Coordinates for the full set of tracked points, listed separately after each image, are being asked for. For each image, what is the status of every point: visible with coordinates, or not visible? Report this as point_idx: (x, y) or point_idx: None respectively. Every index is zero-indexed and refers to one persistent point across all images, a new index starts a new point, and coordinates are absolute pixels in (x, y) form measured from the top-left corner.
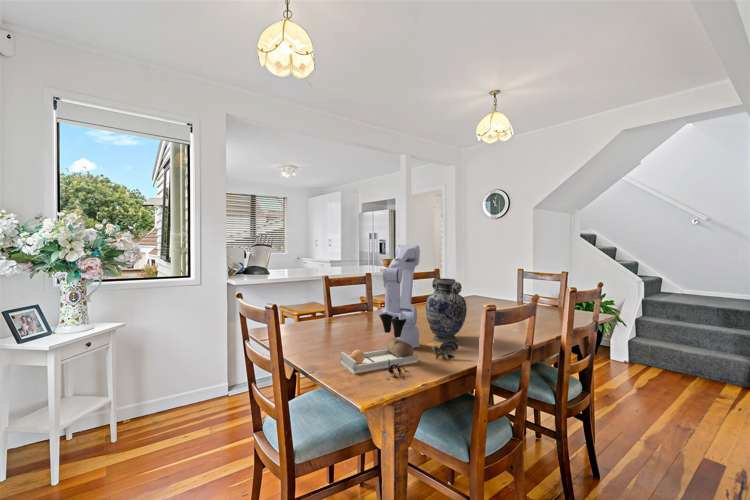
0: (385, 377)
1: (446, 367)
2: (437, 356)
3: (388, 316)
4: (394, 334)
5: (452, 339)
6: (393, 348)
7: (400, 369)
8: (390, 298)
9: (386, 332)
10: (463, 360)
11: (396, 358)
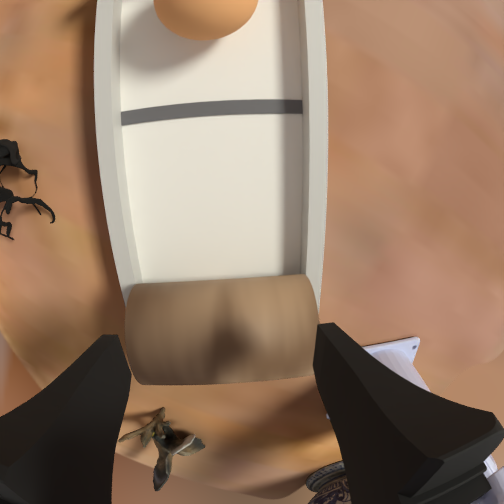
0: (15, 118)
1: None
2: (154, 419)
3: (374, 501)
4: (98, 349)
5: (310, 486)
6: (219, 291)
7: (5, 204)
8: None
9: (316, 334)
10: (135, 449)
11: (124, 250)
